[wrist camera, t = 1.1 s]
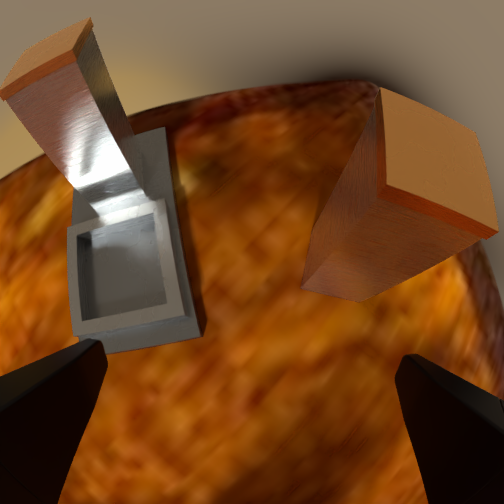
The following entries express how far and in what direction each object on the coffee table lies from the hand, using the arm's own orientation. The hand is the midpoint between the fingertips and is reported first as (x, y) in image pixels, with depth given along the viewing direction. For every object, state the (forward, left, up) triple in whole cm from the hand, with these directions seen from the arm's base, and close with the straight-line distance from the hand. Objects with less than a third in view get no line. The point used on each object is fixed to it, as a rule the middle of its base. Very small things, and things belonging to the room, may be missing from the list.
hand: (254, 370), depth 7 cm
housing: (+15, 0, -13) cm, 20 cm away
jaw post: (-1, -10, -13) cm, 17 cm away
